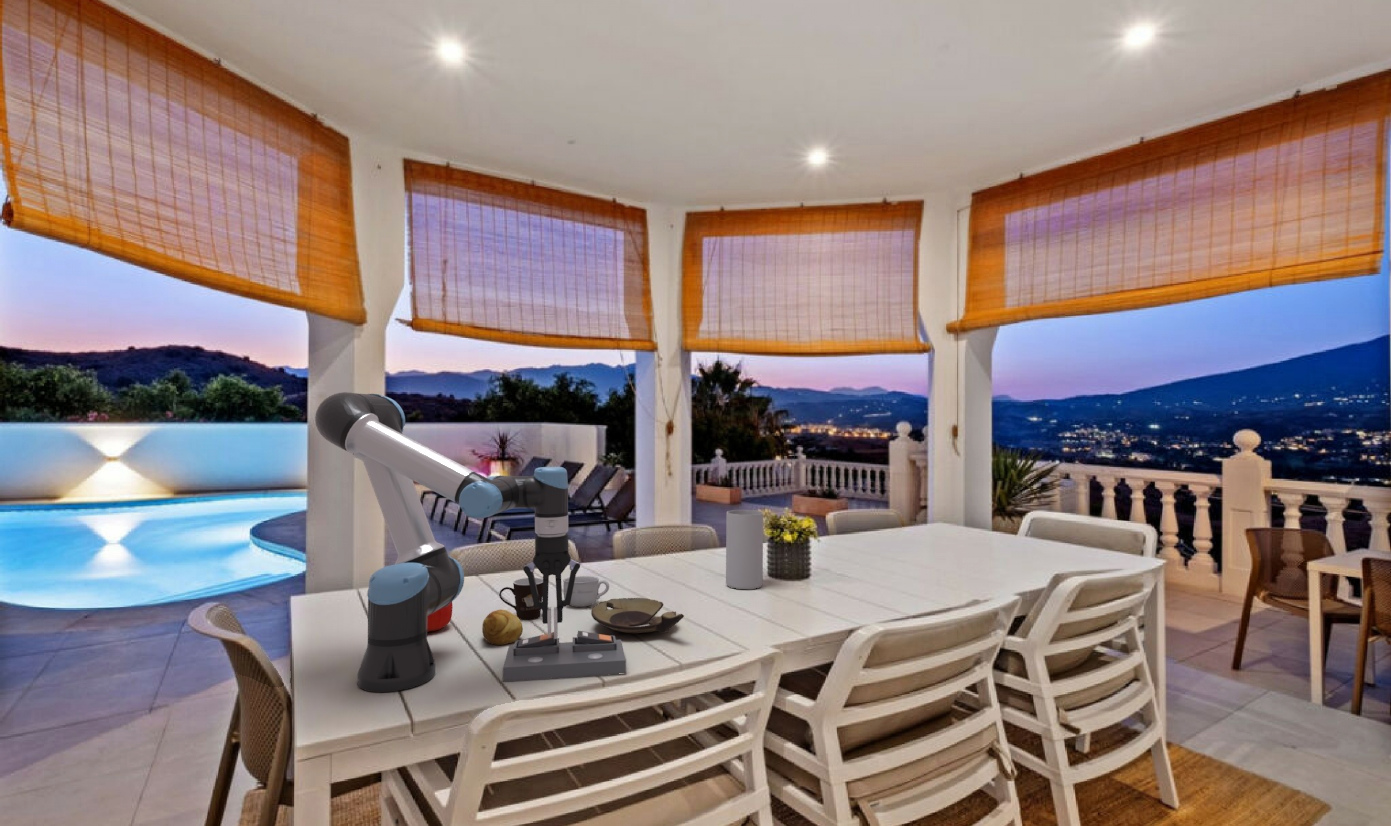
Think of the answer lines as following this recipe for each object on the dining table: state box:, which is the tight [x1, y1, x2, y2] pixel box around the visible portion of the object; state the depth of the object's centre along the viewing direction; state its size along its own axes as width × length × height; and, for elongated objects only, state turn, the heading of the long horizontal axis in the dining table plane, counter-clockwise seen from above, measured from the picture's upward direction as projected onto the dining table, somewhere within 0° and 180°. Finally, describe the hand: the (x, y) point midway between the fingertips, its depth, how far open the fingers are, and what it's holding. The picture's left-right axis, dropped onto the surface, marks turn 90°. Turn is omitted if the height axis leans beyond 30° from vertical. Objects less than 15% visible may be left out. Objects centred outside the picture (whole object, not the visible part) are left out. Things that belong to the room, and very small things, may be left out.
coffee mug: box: [499, 577, 543, 621], centre depth 185 cm, size 12×9×10 cm
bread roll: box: [481, 609, 524, 646], centre depth 166 cm, size 13×10×8 cm
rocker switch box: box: [502, 635, 627, 683], centre depth 148 cm, size 26×14×4 cm, turn 101°
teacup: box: [562, 575, 610, 608], centre depth 198 cm, size 14×11×8 cm
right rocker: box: [576, 630, 613, 644], centre depth 152 cm, size 8×4×1 cm, turn 100°
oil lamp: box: [590, 597, 685, 634], centre depth 174 cm, size 22×30×8 cm
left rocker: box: [518, 631, 555, 648], centre depth 150 cm, size 8×4×1 cm, turn 101°
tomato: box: [427, 601, 453, 633], centre depth 173 cm, size 14×13×10 cm
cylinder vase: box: [725, 509, 764, 590], centre depth 223 cm, size 12×12×25 cm
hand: (552, 636), depth 150 cm, fingers closed, pressing on left rocker
